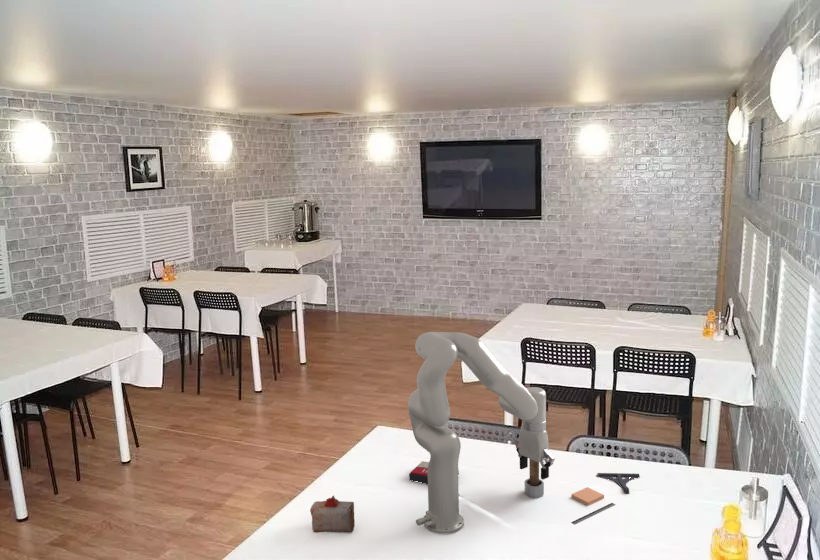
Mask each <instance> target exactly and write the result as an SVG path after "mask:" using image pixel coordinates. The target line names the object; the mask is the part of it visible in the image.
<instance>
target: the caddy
mask: <svg viewBox="0 0 820 560" xmlns="http://www.w3.org/2000/svg"><path fill="white" fill-rule="evenodd" d="M544 489H545V482H544V480H542V479H541V478H539V486H532V485H530V477H529V478H527V479H525V480H524V494H525V496H527V498H528V497H529V498H532V499H539V498H542V497H544V493H545V490H544Z"/></svg>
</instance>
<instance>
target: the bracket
mask: <svg viewBox="0 0 820 560" xmlns="http://www.w3.org/2000/svg"><path fill="white" fill-rule="evenodd" d="M596 474H597V477H598V478H601V479H606V480H608V479H609V480H608V481H612V482H614V483H615V484H617V485H618V486H620V487H621V489H622V490H623V491H624V494H626V495H629V494H630V490H629V489H630V488H629V486H627V484H628V483H629V482H630V481H632V480H631V479H633V480H635V479H634V478H637V479H639V478H640V473H623V472H622V473H617V472H615V473H613V472H597V473H596ZM629 477H631V478H630V479H629ZM638 477H639V478H638ZM617 478H618V479H617ZM629 480H630V481H629ZM626 483H627V484H626Z"/></svg>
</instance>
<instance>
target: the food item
mask: <svg viewBox="0 0 820 560" xmlns="http://www.w3.org/2000/svg"><path fill="white" fill-rule="evenodd" d="M309 510H310V511H309V512H310V515H311V527H312V532H313V533H346V534H347V533H348V534H349V533H353V532H354V530H355V525H356V523H355V502H354V501H341V500H340V501H339V499H337V498H336V497H335V495H332V497H328V498H327V499H326V500H323V501H321V500H320V501H318V500H317V501H314V503H313V504H312V505H311V507H310V509H309Z"/></svg>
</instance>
